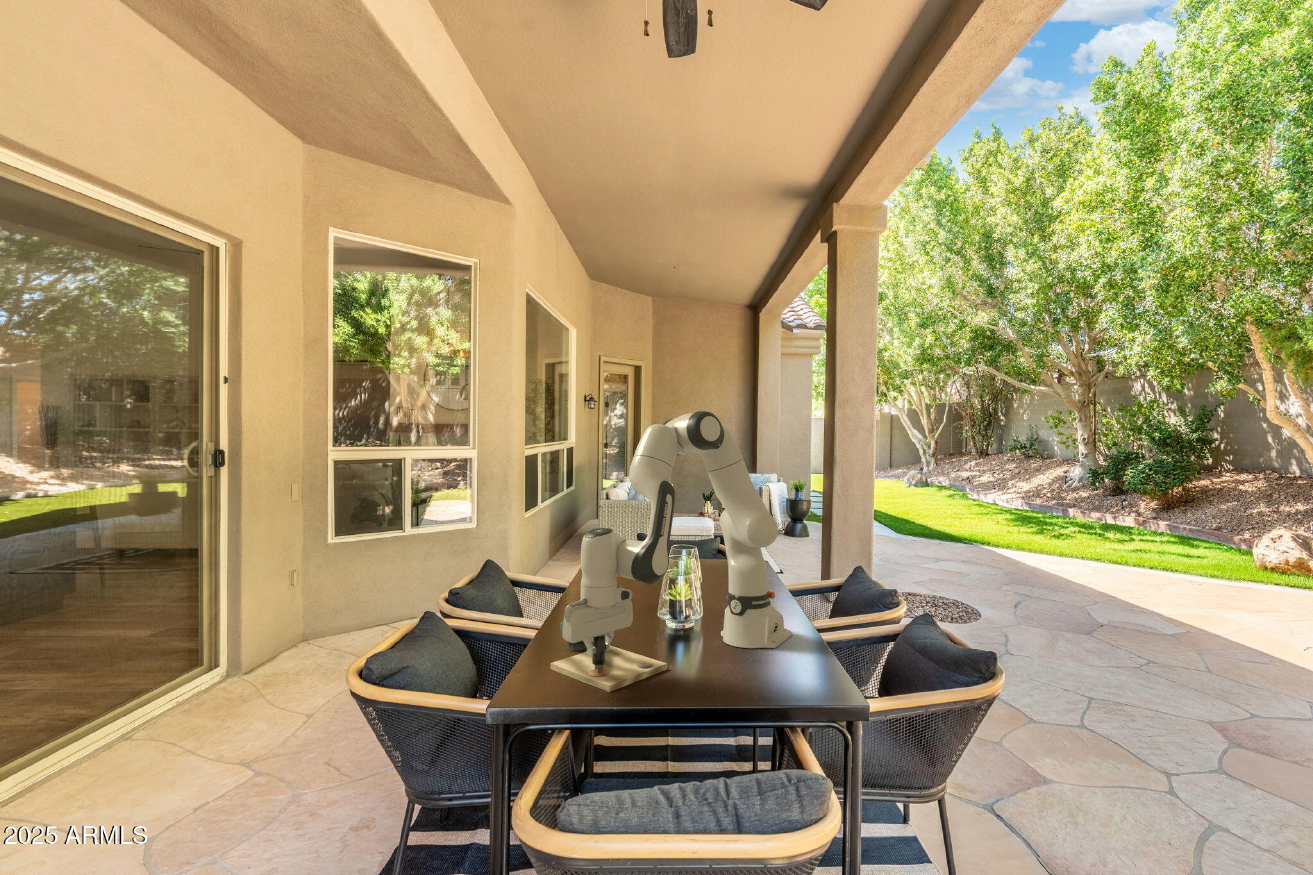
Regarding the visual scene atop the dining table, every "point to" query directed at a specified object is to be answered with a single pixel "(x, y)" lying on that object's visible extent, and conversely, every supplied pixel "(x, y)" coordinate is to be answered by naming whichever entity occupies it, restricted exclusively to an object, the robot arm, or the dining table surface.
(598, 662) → the lever
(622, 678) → the lever board
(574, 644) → the mortar and pestle
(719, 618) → the dining table surface
